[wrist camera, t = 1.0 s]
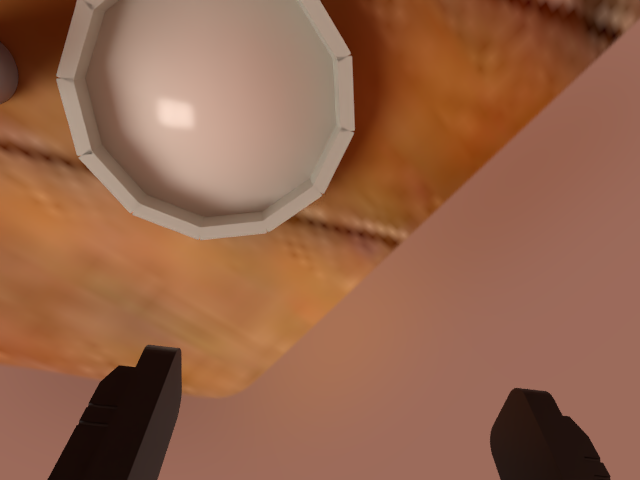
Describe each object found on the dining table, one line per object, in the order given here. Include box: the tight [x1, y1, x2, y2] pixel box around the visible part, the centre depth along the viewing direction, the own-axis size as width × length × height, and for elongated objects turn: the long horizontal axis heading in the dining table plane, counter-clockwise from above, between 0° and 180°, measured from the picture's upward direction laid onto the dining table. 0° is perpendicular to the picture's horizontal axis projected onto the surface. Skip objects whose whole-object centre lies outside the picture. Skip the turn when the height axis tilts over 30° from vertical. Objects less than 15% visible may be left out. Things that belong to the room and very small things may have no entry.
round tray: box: [56, 0, 355, 240], centre depth 29 cm, size 17×17×3 cm
